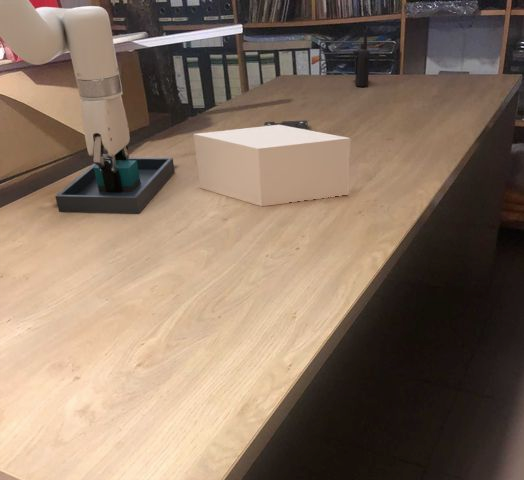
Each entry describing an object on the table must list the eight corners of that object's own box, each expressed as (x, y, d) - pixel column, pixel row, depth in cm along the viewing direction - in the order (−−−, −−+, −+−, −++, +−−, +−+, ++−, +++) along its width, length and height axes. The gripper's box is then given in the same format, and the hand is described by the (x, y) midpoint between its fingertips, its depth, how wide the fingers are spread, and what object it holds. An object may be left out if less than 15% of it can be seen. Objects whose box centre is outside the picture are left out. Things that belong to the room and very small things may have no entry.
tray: (139, 213, 107) (136, 197, 105) (59, 211, 110) (54, 196, 108) (174, 172, 124) (172, 157, 122) (104, 171, 127) (101, 157, 125)
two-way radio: (369, 87, 176) (372, 30, 167) (354, 88, 176) (356, 31, 167) (364, 83, 181) (366, 27, 172) (350, 84, 180) (351, 29, 172)
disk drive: (264, 134, 143) (262, 152, 131) (263, 121, 142) (261, 139, 130) (307, 132, 143) (309, 150, 131) (307, 119, 141) (309, 137, 129)
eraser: (98, 190, 115) (93, 167, 112) (107, 182, 119) (102, 160, 116) (132, 191, 114) (128, 168, 111) (140, 182, 117) (136, 160, 115)
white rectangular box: (342, 210, 103) (343, 151, 97) (186, 202, 110) (178, 146, 104) (354, 181, 114) (356, 126, 108) (212, 175, 121) (206, 123, 115)
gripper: (99, 77, 113) (117, 171, 124) (58, 99, 100) (83, 203, 110) (136, 76, 112) (151, 172, 122) (100, 98, 98) (121, 204, 109)
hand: (119, 185), depth 116 cm, fingers closed on eraser, 4 cm apart
